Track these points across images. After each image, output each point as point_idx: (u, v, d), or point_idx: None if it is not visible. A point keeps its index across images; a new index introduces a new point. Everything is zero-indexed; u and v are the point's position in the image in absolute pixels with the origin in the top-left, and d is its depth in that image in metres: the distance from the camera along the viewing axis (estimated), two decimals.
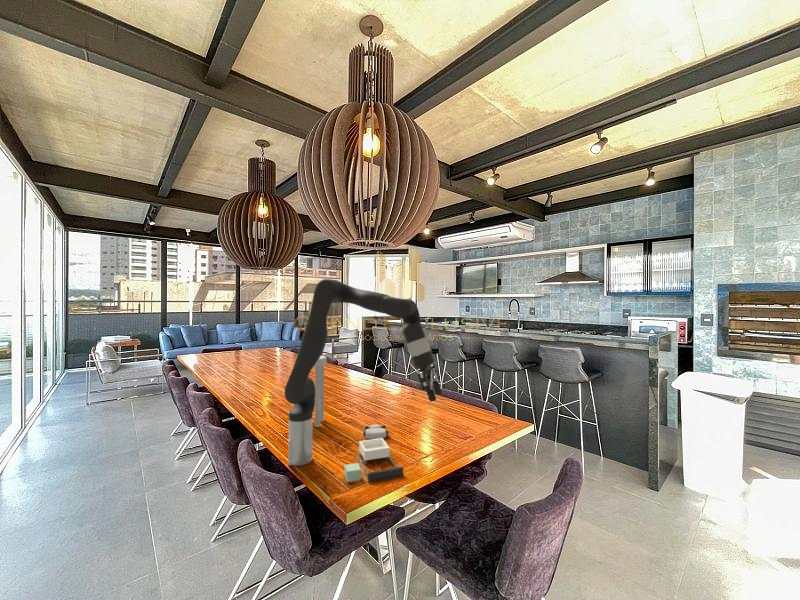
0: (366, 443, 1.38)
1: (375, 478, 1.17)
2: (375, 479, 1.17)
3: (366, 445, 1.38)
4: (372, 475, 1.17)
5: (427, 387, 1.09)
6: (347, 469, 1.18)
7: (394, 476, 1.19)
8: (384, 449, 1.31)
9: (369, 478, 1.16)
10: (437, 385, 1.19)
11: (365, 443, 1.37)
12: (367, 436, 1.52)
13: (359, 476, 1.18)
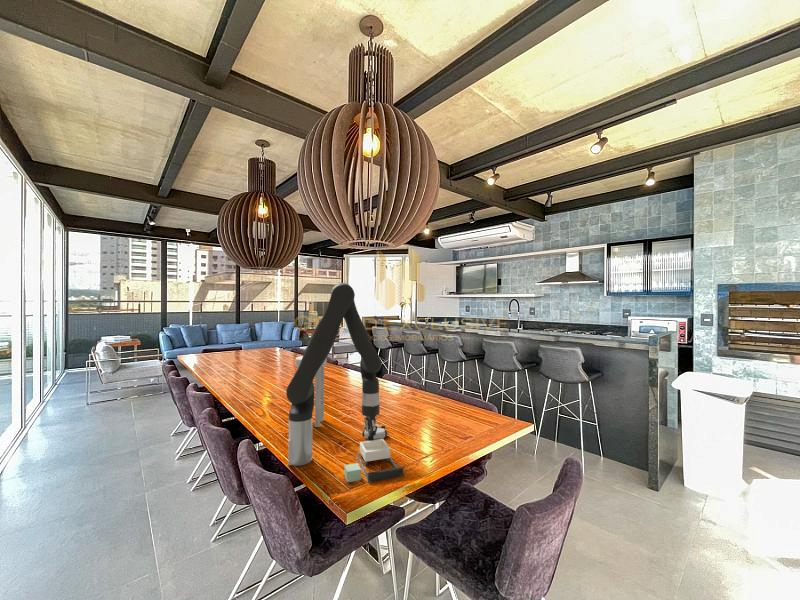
0: (367, 444, 1.37)
1: (375, 478, 1.17)
2: (375, 479, 1.17)
3: (367, 446, 1.37)
4: (372, 475, 1.17)
5: (374, 434, 1.37)
6: (347, 469, 1.18)
7: (394, 476, 1.19)
8: (385, 450, 1.30)
9: (369, 478, 1.16)
10: None
11: (366, 444, 1.37)
12: (366, 436, 1.53)
13: (359, 476, 1.18)
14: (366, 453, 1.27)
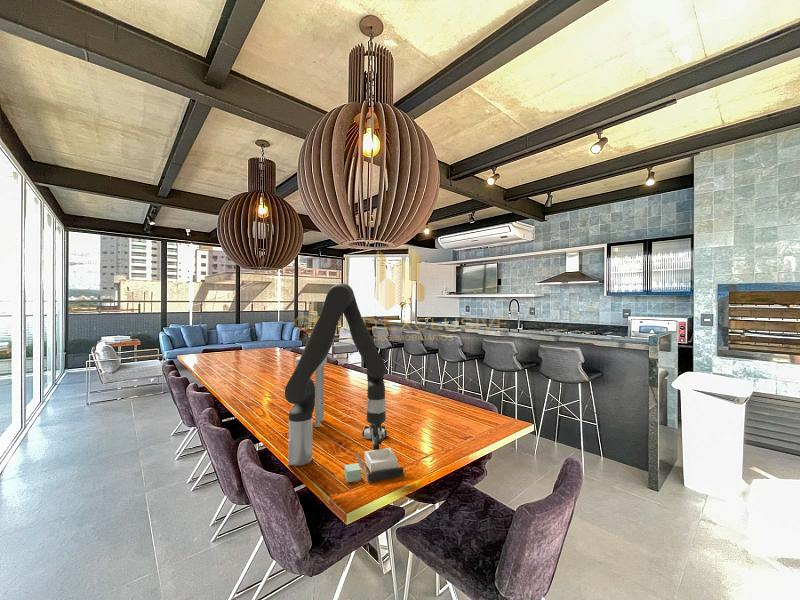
0: (372, 453, 1.28)
1: (375, 478, 1.17)
2: (375, 479, 1.17)
3: (372, 456, 1.28)
4: (372, 475, 1.17)
5: (379, 443, 1.29)
6: (347, 469, 1.18)
7: (394, 476, 1.19)
8: (392, 461, 1.21)
9: (369, 478, 1.16)
10: None
11: (371, 453, 1.28)
12: (366, 436, 1.53)
13: (359, 476, 1.18)
14: (372, 464, 1.19)
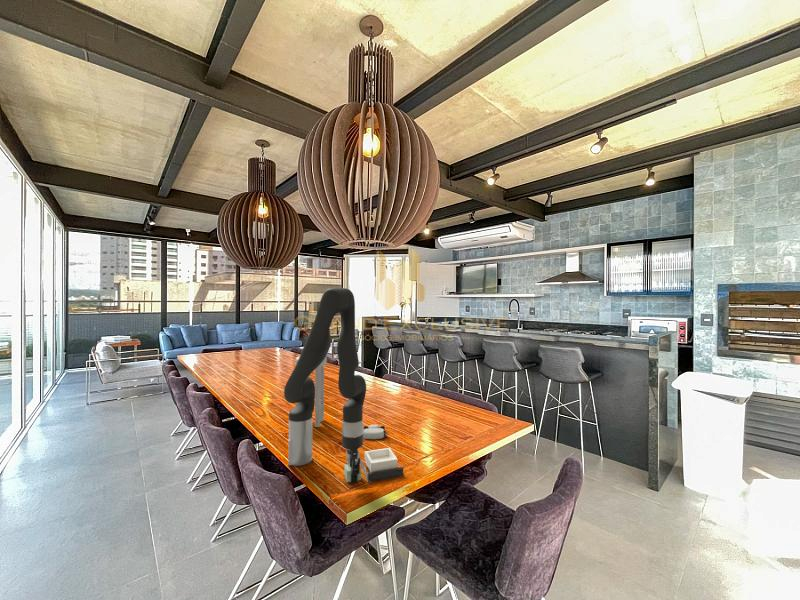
0: (372, 453, 1.28)
1: (375, 478, 1.17)
2: (375, 479, 1.17)
3: (372, 456, 1.28)
4: (372, 475, 1.17)
5: (357, 472, 1.14)
6: (347, 469, 1.18)
7: (394, 476, 1.19)
8: (392, 461, 1.21)
9: (369, 478, 1.16)
10: None
11: (371, 453, 1.28)
12: (364, 436, 1.53)
13: (359, 476, 1.18)
14: (372, 464, 1.19)
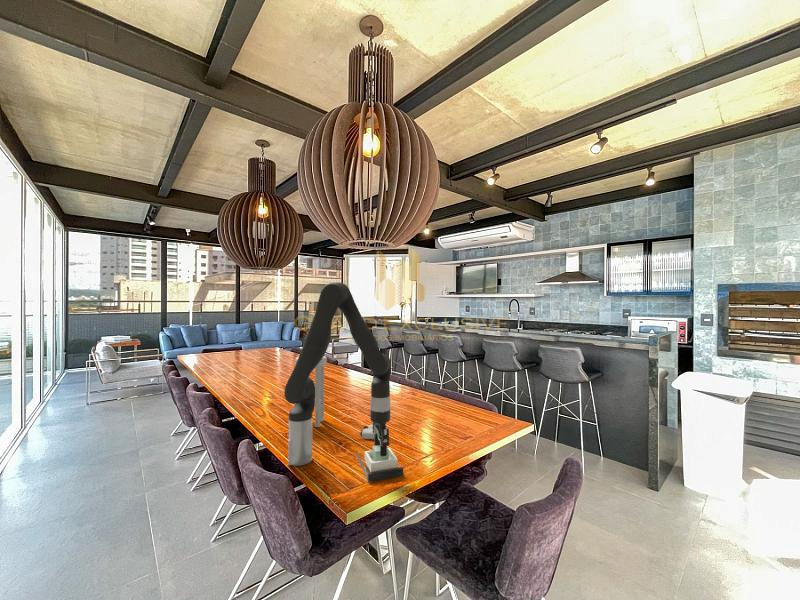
0: None
1: (375, 478, 1.17)
2: (375, 479, 1.17)
3: None
4: (372, 475, 1.17)
5: (387, 444, 1.19)
6: (375, 449, 1.24)
7: (394, 476, 1.19)
8: (392, 460, 1.21)
9: (369, 478, 1.16)
10: None
11: (371, 453, 1.28)
12: (363, 436, 1.53)
13: (387, 456, 1.23)
14: (372, 464, 1.19)
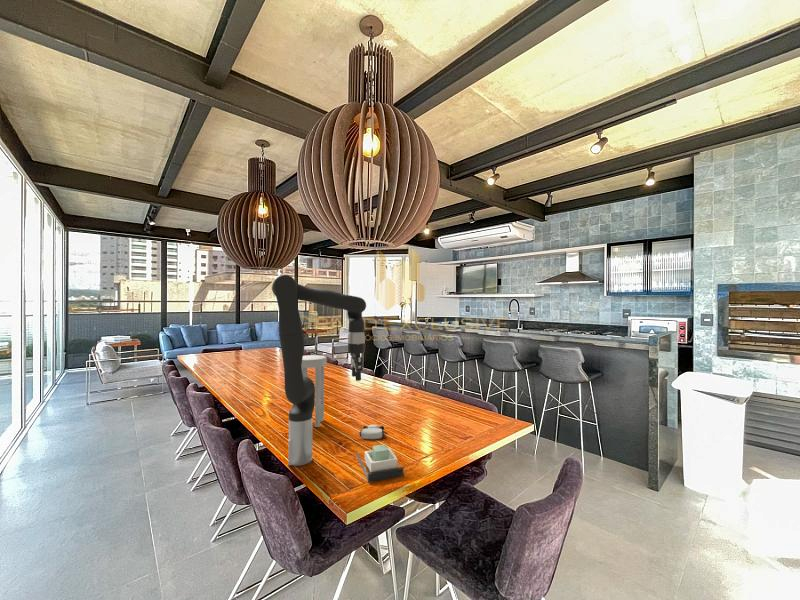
0: None
1: (375, 478, 1.17)
2: (375, 479, 1.17)
3: None
4: (372, 475, 1.17)
5: (361, 369, 1.42)
6: (375, 449, 1.24)
7: (394, 476, 1.19)
8: (392, 460, 1.21)
9: (369, 478, 1.16)
10: (355, 369, 1.52)
11: (371, 453, 1.28)
12: (363, 436, 1.53)
13: (387, 456, 1.23)
14: (372, 464, 1.19)
